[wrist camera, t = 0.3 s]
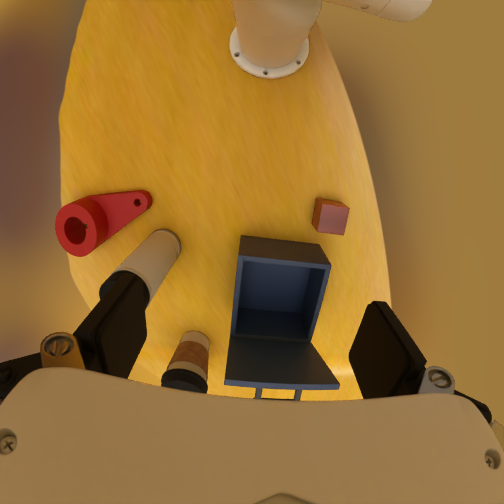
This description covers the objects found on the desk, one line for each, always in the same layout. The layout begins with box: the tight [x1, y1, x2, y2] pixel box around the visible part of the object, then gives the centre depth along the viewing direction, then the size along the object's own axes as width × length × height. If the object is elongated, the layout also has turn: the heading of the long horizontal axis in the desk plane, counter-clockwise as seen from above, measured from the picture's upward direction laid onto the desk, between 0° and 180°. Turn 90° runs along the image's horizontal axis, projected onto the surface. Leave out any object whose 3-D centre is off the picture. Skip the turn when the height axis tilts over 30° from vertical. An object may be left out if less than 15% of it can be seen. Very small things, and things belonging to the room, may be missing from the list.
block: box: [312, 198, 349, 235], centre depth 44 cm, size 4×4×4 cm
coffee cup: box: [161, 331, 209, 394], centre depth 49 cm, size 8×8×15 cm
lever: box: [55, 190, 152, 257], centre depth 43 cm, size 18×9×7 cm, turn 106°
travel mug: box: [99, 229, 181, 310], centre depth 39 cm, size 6×7×20 cm
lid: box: [224, 336, 340, 401], centre depth 37 cm, size 15×14×6 cm
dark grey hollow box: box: [230, 235, 332, 342], centre depth 47 cm, size 15×14×9 cm
